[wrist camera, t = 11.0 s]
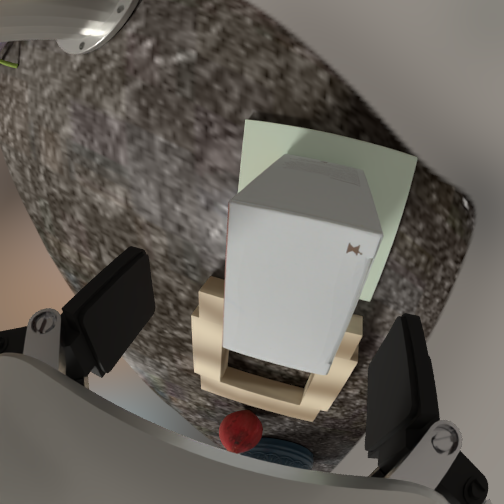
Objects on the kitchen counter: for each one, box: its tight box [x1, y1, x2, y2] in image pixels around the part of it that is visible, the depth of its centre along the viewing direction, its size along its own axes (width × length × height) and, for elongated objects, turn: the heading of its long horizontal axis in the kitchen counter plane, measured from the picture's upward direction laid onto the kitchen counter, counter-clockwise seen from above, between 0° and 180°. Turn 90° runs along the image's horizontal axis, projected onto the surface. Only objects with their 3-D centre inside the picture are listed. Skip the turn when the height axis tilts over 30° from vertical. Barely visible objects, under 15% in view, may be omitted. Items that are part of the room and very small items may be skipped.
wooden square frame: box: [191, 276, 363, 422], centre depth 28 cm, size 16×16×2 cm
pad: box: [238, 119, 418, 302], centre depth 20 cm, size 12×12×1 cm
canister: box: [240, 438, 314, 470], centre depth 34 cm, size 13×13×18 cm
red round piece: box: [219, 410, 263, 454], centre depth 33 cm, size 6×6×8 cm
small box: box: [222, 154, 384, 375], centre depth 16 cm, size 8×6×10 cm
